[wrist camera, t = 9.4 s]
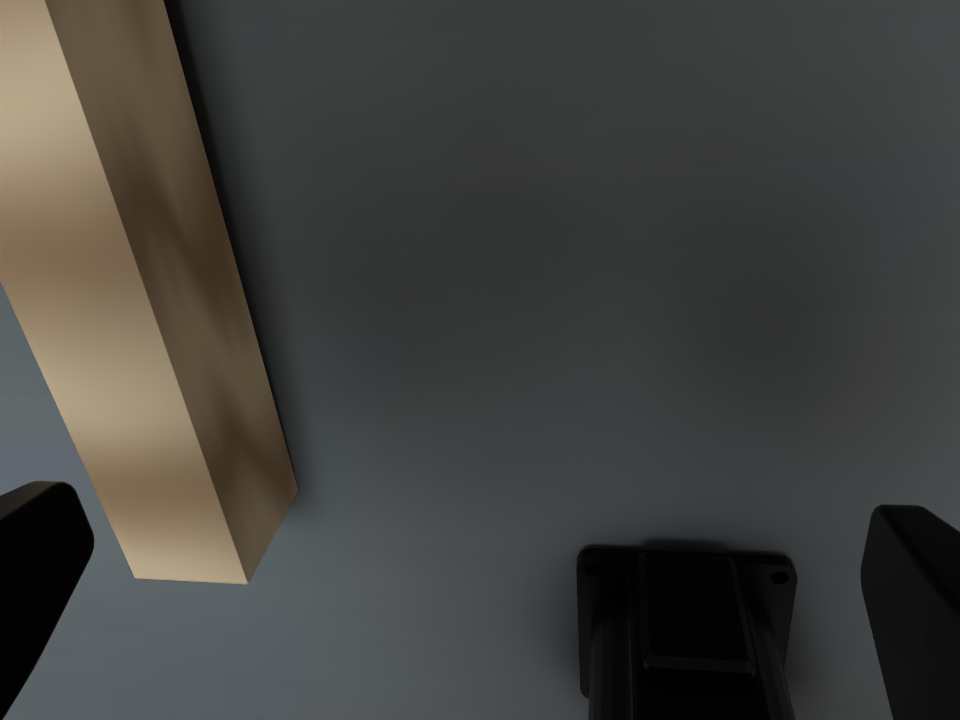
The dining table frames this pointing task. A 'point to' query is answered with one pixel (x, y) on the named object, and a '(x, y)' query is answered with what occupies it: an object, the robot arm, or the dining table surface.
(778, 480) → the dining table surface
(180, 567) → the rail
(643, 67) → the dining table surface
